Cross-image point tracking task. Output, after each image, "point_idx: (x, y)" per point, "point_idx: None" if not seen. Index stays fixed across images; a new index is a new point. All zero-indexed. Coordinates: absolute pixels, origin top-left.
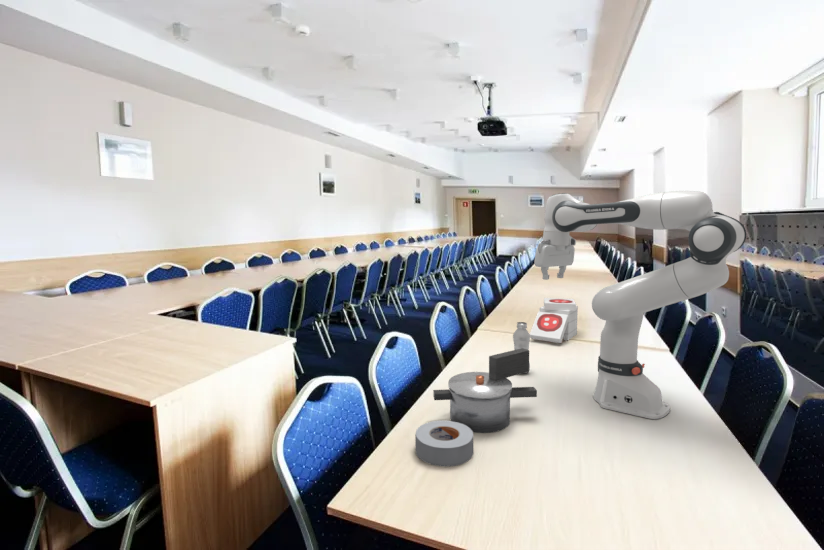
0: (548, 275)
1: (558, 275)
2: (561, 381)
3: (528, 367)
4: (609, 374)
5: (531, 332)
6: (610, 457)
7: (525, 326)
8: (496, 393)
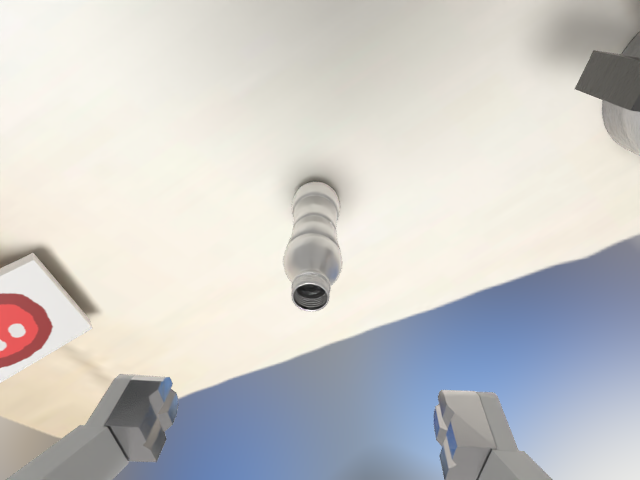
0: (480, 437)
1: (161, 423)
2: (287, 77)
3: (606, 53)
4: None
5: (81, 330)
6: None
7: (312, 275)
8: None
